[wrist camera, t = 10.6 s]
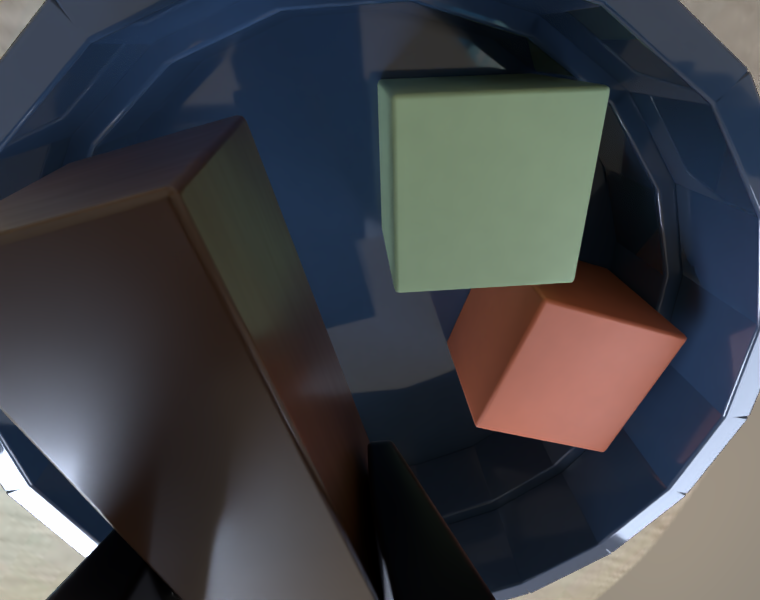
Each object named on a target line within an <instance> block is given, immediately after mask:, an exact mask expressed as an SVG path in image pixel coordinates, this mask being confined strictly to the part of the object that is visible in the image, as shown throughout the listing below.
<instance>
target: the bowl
mask: <svg viewBox="0 0 760 600" xmlns="http://www.w3.org/2000/svg"><path fill="white" fill-rule="evenodd" d="M527 73H532V74H539V75H545V76H551V77H558V78H564V79H571V80H577V81H583V82H590V83H596V84H602V85H606V86H608V87H609V90H610V93H609V98H608V103H607V109H606V114H605V119H604V125H603V130H602V135H601V141H600V146H599V151H598V156H597V162H596V167H595V172H594V178H593V183H592V188H591V194H590V199H589V204H588V209H587V215H586V220H585V225H584V231H583V236H582V241H581V247H580V252H579V257H578V260H579V261H582V262H586V263H589V264H593V265H596V266H600V267H603V268H606V269H608V270H609V271H610V272H612V273H613V274H614V275H615V276H616V277H617V278H619V279H620V280H621V281H622V282H623V283H625V284H626V285H627V286H628V287H629V288H630V289H632V290H633V291H634V292H635V293H636V294H637V295H639V296H640V297H641V298H642V299H643V300H644V301H646V302H647V303H648V304H649V305H650V306H651V307H653V308H654V309H655V310H656V311H657V312H659V313H660V314H661V315H662V316H663V317H664V318H666V319H667V320H668V321H669V322H670V323H671V324H673V325H674V326H675V327H676V328H677V329H678V330H680V331H681V332H682V333H683V334H684V335H685V336H686V337H687V340H686V342H685V343H684V344H683V346H682V347H681V348H680V350H679V351H678V353H677V354H676V355H675V357H674V358H673V359H672V361H671V362H670V363H669V365H668V366H667V368H666V369H665V370H664V372H663V373H662V374H661V376H660V377H659V379H658V380H657V381H656V383H655V384H654V385H653V387H652V388H651V389H650V391H649V392H648V394H647V395H646V396H645V398H644V399H643V400H642V402H641V403H640V404H639V406H638V407H637V409H636V410H635V411H634V413H633V414H632V415H631V417H630V418H629V420H628V421H627V422H626V424H625V425H624V426H623V428H622V429H621V430H620V432H619V433H618V435H617V436H616V437H615V439H614V440H613V441H612V443H611V444H610V446H609V447H608V448H607V450H606V451H604V452H599V451H594V450H589V449H584V448H579V447H574V446H569V445H564V444H559V443H554V442H549V441H543V440H538V439H533V438H528V437H523V436H518V435H513V434H508V433H503V432H498V431H493V430H488V429H483V428H478V427H476V425H475V423H474V421H473V418H472V415H471V412H470V409H469V406H468V403H467V400H466V397H465V394H464V392H463V389H462V386H461V383H460V380H459V377H458V374H457V371H456V368H455V365H454V363H453V360H452V357H451V354H450V351H449V348H448V345H447V341H448V339H449V337H450V334H451V332H452V330H453V328H454V326H455V323H456V321H457V319H458V317H459V315H460V312H461V310H462V308H463V306H464V304H465V301H466V299H467V297H468V295H469V293H470V290H471V288H470V289H453V290H437V291H420V292H403V293H399V292H396V291H395V289H394V284H393V280H392V275H391V270H390V265H389V260H388V255H387V251H386V246H385V241H384V236H383V231H382V217H381V184H380V152H379V119H378V87H377V84H378V81H379V80H381V79H399V78H425V77H450V76H476V75H502V74H527ZM235 115H239V116H243V117H244V119H245V120H246V121H247V124H248V126H249V129H250V132H251V134H252V137H253V139H254V142H255V145H256V147H257V150H258V152H259V155H260V158H261V160H262V163H263V165H264V168H265V171H266V173H267V176H268V179H269V181H270V184H271V186H272V189H273V192H274V194H275V197H276V199H277V202H278V205H279V207H280V210H281V212H282V215H283V218H284V220H285V223H286V225H287V228H288V231H289V233H290V236H291V238H292V241H293V244H294V246H295V249H296V251H297V254H298V257H299V259H300V262H301V265H302V267H303V270H304V272H305V275H306V278H307V280H308V283H309V285H310V288H311V291H312V293H313V296H314V298H315V301H316V304H317V306H318V309H319V311H320V314H321V317H322V319H323V322H324V324H325V327H326V330H327V332H328V335H329V337H330V340H331V343H332V345H333V348H334V351H335V353H336V356H337V358H338V361H339V364H340V366H341V369H342V371H343V374H344V377H345V379H346V382H347V384H348V387H349V390H350V392H351V395H352V397H353V400H354V403H355V405H356V408H357V410H358V413H359V416H360V418H361V421H362V423H363V426H364V429H365V431H366V434H367V437H368V439H369V442H375V441H385V440H390V441H392V442H393V443H394V444H395V446H396V447H397V449H398V451H399V452H400V454H401V455H402V457H403V458H404V460H405V461H406V463H407V464H408V466H409V467H410V469H411V470H412V472H413V473H414V475H415V477H416V478H417V480H418V481H419V483H420V484H421V486H422V487H423V489H424V490H425V492H426V493H427V495H428V496H429V498H430V499H431V501H432V503H433V504H434V506H435V507H436V509H437V510H438V512H439V513H440V515H441V516H442V518H443V519H444V521H445V522H446V524H447V526H448V527H449V529H450V530H451V532H452V533H453V535H454V536H455V538H456V539H457V541H458V542H459V544H460V545H461V547H462V548H463V550H464V552H465V553H466V555H467V556H468V558H469V559H470V561H471V562H472V564H473V565H474V567H475V568H476V570H477V571H478V573H479V574H480V576H481V578H482V579H483V581H484V582H485V584H486V585H487V587H488V588H489V590H490V591H491V593H492V594H493V596H494V597H495V599H496V600H509V599H512V598H515V597H519V596H522V595H526V594H528V593H529V592H530V593H533V592H535V591H537V590H539V589H541V588H543V587H545V586H547V585H549V584H551V583H553V582H555V581H557V580H559V579H561V578H563V577H565V576H567V575H569V574H571V573H573V572H575V571H577V570H579V569H581V568H583V567H585V566H587V565H589V564H591V563H593V562H595V561H597V560H599V559H601V558H603V557H605V556H607V555H609V554H611V552H614V551H615V550H616V549H618V548H619V547H620V546H622V545H623V544H624V543H625V542H627V541H628V540H629V539H631V538H632V537H633V536H634V535H636V534H637V533H638V532H640V531H641V530H642V529H643V528H645V527H646V526H647V525H649V524H650V523H651V522H652V521H654V520H655V519H656V518H658V517H659V516H660V515H661V514H663V513H664V512H665V511H667V510H668V509H669V508H670V507H672V506H673V505H674V504H676V503H677V502H678V501H679V500H681V499H682V498H683V497H685V495H686V493H688V492H689V491H690V490H691V488H692V487H693V486H694V485H695V483H696V482H697V481H698V480H699V479H700V477H701V476H702V475H703V474H704V472H705V471H706V470H707V469H708V467H709V466H710V465H711V464H712V462H713V461H714V460H715V459H716V457H717V456H718V455H719V454H720V452H721V451H722V450H723V449H724V447H725V446H726V445H727V444H728V442H729V441H730V440H731V439H732V438H733V436H734V435H735V434H736V433H737V431H738V430H739V429H740V428H741V426H742V425H743V424H744V423H745V421H746V420H747V418H748V417H747V416H749V415H750V414H751V411H752V409H753V406H754V404H755V402H756V399H757V397H758V395H759V392H760V97H759V94H758V92H757V89H756V86H755V84H754V81H753V78H752V76H751V73H750V72H748V69H747V67H746V66H745V65H744V64H743V63H742V62H741V61H740V60H739V59H738V58H737V57H736V56H735V55H734V54H733V53H732V52H731V51H730V50H729V49H728V48H727V47H726V46H725V45H724V44H723V43H721V42H720V41H719V40H718V39H717V38H716V37H715V36H714V35H713V34H712V33H711V32H710V31H709V30H708V29H707V28H706V27H705V26H704V25H703V24H702V23H701V22H700V21H699V20H698V19H697V18H696V17H695V16H694V15H693V14H692V13H691V12H690V11H689V10H688V9H687V8H686V7H685V6H684V5H683V4H682V3H681V2H680V1H679V0H46V1H45V2H44V3H43V5H42V6H41V7H40V8H39V10H38V11H37V12H36V14H35V15H34V16H33V18H32V19H31V20H30V21H29V23H28V24H27V25H26V27H25V28H24V29H23V31H22V32H21V33H20V34H19V36H18V37H17V38H16V40H15V41H14V42H13V44H12V45H11V46H10V47H9V49H8V50H7V51H6V53H5V54H4V55H3V57H2V58H1V59H0V200H2V199H4V198H6V197H8V196H10V195H12V194H13V193H15V192H17V191H19V190H21V189H23V188H24V187H26V186H28V185H30V184H32V183H34V182H35V181H37V180H39V179H41V178H43V177H45V176H46V175H48V174H50V173H52V172H54V171H56V170H57V169H59V168H61V167H63V166H65V165H67V164H68V163H71V162H75V161H78V160H82V159H85V158H89V157H92V156H96V155H99V154H103V153H106V152H110V151H113V150H117V149H120V148H124V147H127V146H131V145H134V144H138V143H141V142H145V141H148V140H152V139H155V138H159V137H162V136H165V135H169V134H172V133H176V132H179V131H183V130H186V129H190V128H193V127H197V126H200V125H204V124H207V123H211V122H214V121H218V120H221V119H225V118H228V117H232V116H235ZM0 485H1V486H2V488H3V489H4V490H6V491H7V492H6V493H7V494H8V495H9V496H10V497H11V498H13V499H14V500H15V501H16V502H18V503H19V504H20V505H21V506H22V507H24V508H25V509H26V510H27V511H29V512H30V513H31V514H32V515H33V516H35V517H36V518H37V519H38V520H40V521H41V522H42V523H43V524H44V525H46V526H47V527H48V528H49V529H51V530H52V531H53V532H54V533H55V534H57V535H58V536H59V537H60V538H62V539H63V540H64V541H65V542H66V543H68V544H69V545H70V546H71V547H73V548H74V549H75V550H76V551H77V552H79V553H80V554H81V555H82V556H84V557H87V556H88V555H89V554H90V553H91V552H92V551H93V550H94V549H95V548H96V547H97V546H98V545H99V544H100V543H101V542H102V541H103V540H104V539H105V538H106V537H107V536H108V535H109V534H110V532H111V531H112V530H113V529H114V528H113V527H112V526H111V525H110V524H109V523H108V522H107V521H106V520H105V519H104V518H103V517H102V516H101V515H100V514H99V513H98V511H97V510H96V509H95V508H94V507H93V506H92V505H91V504H90V503H89V502H88V501H87V500H86V499H85V498H84V497H83V496H82V495H81V494H80V492H79V491H78V490H77V489H76V488H75V487H74V486H73V485H72V484H71V483H70V482H69V481H68V480H67V479H66V478H65V477H64V476H63V475H62V473H61V472H60V471H59V470H58V469H57V468H56V467H55V466H54V465H53V464H52V463H51V462H50V461H49V460H48V459H47V458H46V457H45V456H44V455H43V453H42V452H41V451H40V450H39V449H38V448H37V447H36V446H35V445H34V444H33V443H32V442H31V441H30V440H29V439H28V438H27V437H26V436H25V434H24V433H23V432H22V431H21V430H20V429H19V428H18V427H17V426H16V425H15V424H14V423H13V422H12V421H11V420H10V419H9V418H8V417H7V416H6V414H5V413H4V412H3V411H2V410H1V409H0Z"/></svg>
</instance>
